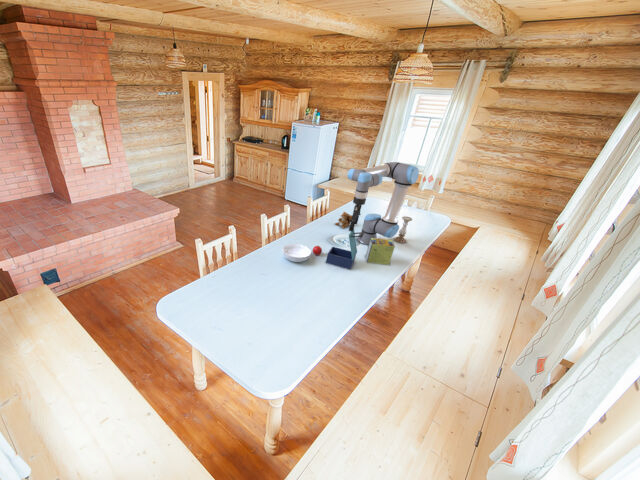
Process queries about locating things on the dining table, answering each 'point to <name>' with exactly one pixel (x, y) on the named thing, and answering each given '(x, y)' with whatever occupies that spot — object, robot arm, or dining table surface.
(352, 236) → the lid
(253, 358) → the dining table surface
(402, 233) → the candle holder
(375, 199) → the dining table surface
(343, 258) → the lunchbox
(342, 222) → the teddy bear
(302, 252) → the serving bowl
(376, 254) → the protein box
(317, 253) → the apple
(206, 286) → the dining table surface
